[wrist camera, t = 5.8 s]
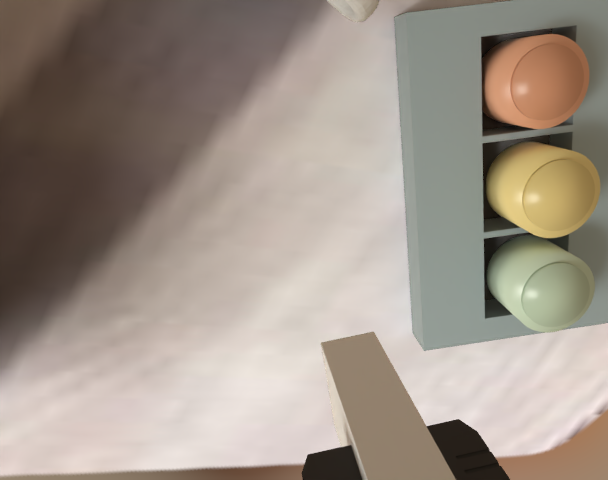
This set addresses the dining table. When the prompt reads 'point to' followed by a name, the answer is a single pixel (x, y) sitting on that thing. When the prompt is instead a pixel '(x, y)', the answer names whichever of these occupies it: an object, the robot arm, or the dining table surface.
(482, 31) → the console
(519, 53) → the button terracotta
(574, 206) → the button ochre
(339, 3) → the cup
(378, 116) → the dining table surface
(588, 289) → the button sage
